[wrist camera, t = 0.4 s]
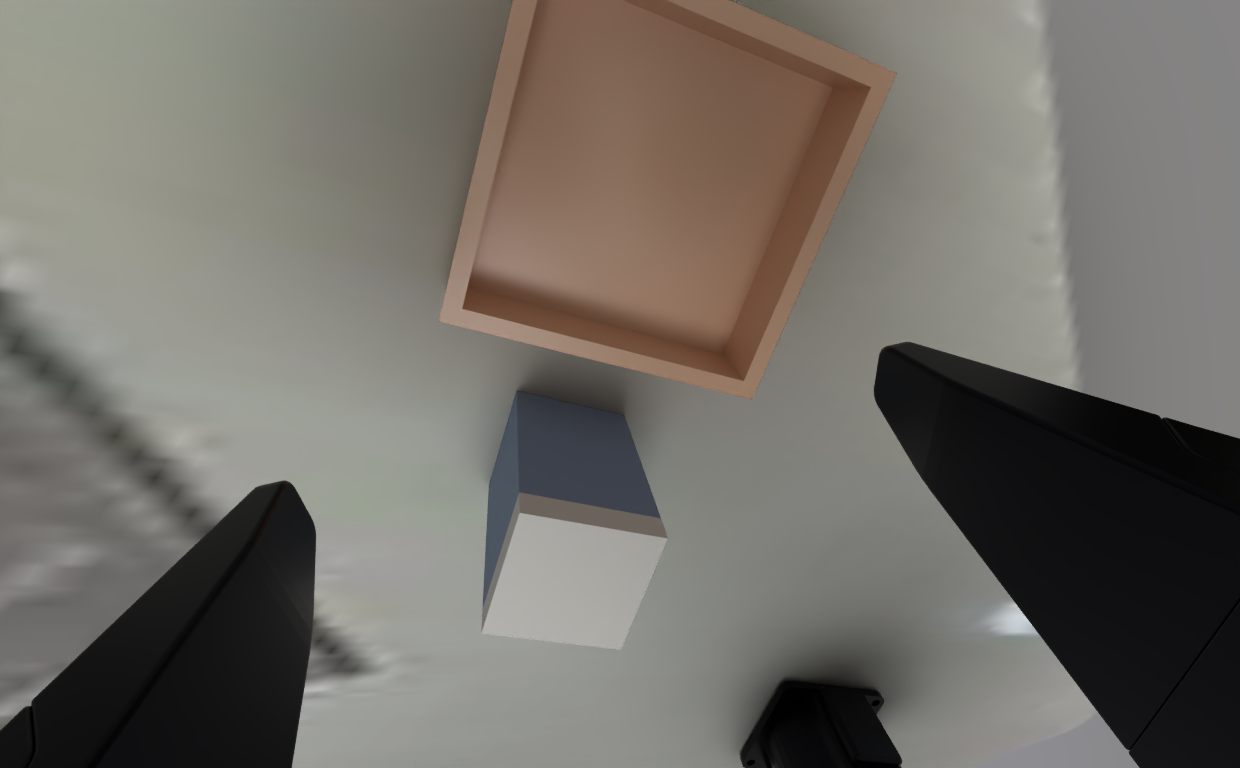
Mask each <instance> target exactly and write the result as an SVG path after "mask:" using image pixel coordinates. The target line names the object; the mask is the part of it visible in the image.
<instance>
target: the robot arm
mask: <svg viewBox="0 0 1240 768" xmlns="http://www.w3.org/2000/svg"><path fill="white" fill-rule="evenodd" d="M874 396H875V400H876V403H877V405H878V407H879V408H880V410H881V412H882V414H883V415H884V417H885V419H886V420H887V422H888V424H889V425H890V427H891V429H892V430H893V432H894V434H895V435H896V437H897V439H898V440H899V442H900V444H901V445H902V447H903V449H904V450H905V452H906V454H907V455H908V457H909V459H910V460H911V462H912V464H913V465H914V467H915V469H916V470H917V472H918V473H919V475H920V476H921V478H922V479H923V481H924V482H925V484H926V485H927V486H928V488H929V489H930V491H931V492H932V493H933V495H934V496H935V497H936V499H937V500H938V501H939V503H940V504H941V505H942V507H943V508H944V509H945V510H946V512H947V513H948V514H949V516H950V517H951V518H952V520H953V521H954V522H955V524H956V525H957V526H958V528H959V529H960V530H961V532H962V533H963V534H964V536H965V537H966V538H967V540H968V541H969V542H970V544H971V545H972V546H973V548H974V549H975V550H976V551H977V553H978V554H979V555H980V557H981V558H982V559H983V561H984V562H985V563H986V565H987V566H988V567H989V569H990V570H991V571H992V573H993V574H994V575H995V577H996V578H997V579H998V581H999V582H1000V583H1001V585H1002V586H1003V587H1004V588H1005V590H1006V591H1007V592H1008V594H1009V595H1010V596H1011V598H1012V599H1013V600H1014V602H1015V603H1016V604H1017V606H1018V607H1019V608H1020V610H1021V611H1022V612H1023V614H1024V615H1025V616H1026V618H1027V619H1028V620H1029V622H1030V623H1031V624H1032V625H1033V627H1034V628H1035V629H1036V631H1037V632H1038V633H1039V635H1040V636H1041V637H1042V639H1043V640H1044V641H1045V643H1046V644H1047V645H1048V647H1049V648H1050V649H1051V651H1052V652H1053V653H1054V655H1055V656H1056V657H1057V659H1058V660H1059V661H1060V663H1061V664H1062V665H1063V666H1064V668H1065V669H1066V670H1067V672H1068V673H1069V674H1070V676H1071V677H1072V678H1073V680H1074V681H1075V682H1076V684H1077V685H1078V686H1079V688H1080V689H1081V690H1082V692H1083V693H1084V694H1085V696H1086V697H1087V698H1088V700H1089V701H1090V702H1091V703H1092V705H1093V706H1094V707H1095V709H1096V710H1097V711H1098V713H1099V714H1100V715H1101V717H1102V718H1103V719H1104V721H1105V722H1106V723H1107V725H1108V726H1109V727H1110V729H1111V730H1112V731H1113V732H1114V734H1115V735H1116V737H1117V738H1118V739H1119V740H1120V742H1121V743H1122V744H1123V745H1124V747H1125V748H1126V749H1127V750H1130V751H1129V754H1130V756H1131V757H1132V758H1133V760H1134V761H1135V762H1136V764H1137V765H1138V766H1139V768H1240V439H1239V438H1235V437H1232V436H1228V435H1225V434H1221V433H1218V432H1214V431H1211V430H1207V429H1204V428H1200V427H1197V426H1193V425H1190V424H1186V423H1183V422H1180V421H1176V420H1173V419H1169V418H1162V419H1161V418H1160V416H1158V415H1156V414H1152V413H1149V412H1145V411H1142V410H1139V409H1135V408H1132V407H1128V406H1125V405H1122V404H1118V403H1115V402H1112V401H1108V400H1105V399H1101V398H1098V397H1095V396H1091V395H1088V394H1084V393H1081V392H1078V391H1074V390H1071V389H1067V388H1064V387H1061V386H1057V385H1054V384H1051V383H1047V382H1044V381H1040V380H1037V379H1034V378H1030V377H1027V376H1023V375H1020V374H1017V373H1013V372H1010V371H1007V370H1003V369H1000V368H996V367H993V366H990V365H986V364H983V363H979V362H976V361H973V360H969V359H966V358H962V357H959V356H956V355H952V354H949V353H946V352H942V351H939V350H935V349H932V348H929V347H925V346H922V345H918V344H915V343H912V342H903V343H899V344H894V345H890V346H886V347H884V348H883V349H882V350H881V352H880V354H879V359H878V366H877V372H876V379H875V385H874ZM315 554H316V530H315V526H314V523H313V520H312V518H311V516H310V514H309V512H308V511H307V509H306V507H305V505H304V503H303V502H302V500H301V498H300V496H299V494H298V492H297V491H296V489H295V487H294V486H293V485H292V484H291V483H290V482H288V481H279V482H275V483H270V484H265V485H261V486H258V487H256V488H255V489H254V490H252V491H251V492H250V493H249V494H248V495H247V496H246V497H245V498H244V499H243V500H242V501H241V502H240V503H239V504H238V505H237V506H236V507H235V508H233V509H232V510H231V511H230V512H229V513H228V514H227V515H226V516H225V517H224V518H223V519H222V520H221V521H220V522H219V523H218V524H217V525H216V526H215V527H214V528H213V529H211V530H210V531H209V532H208V533H207V534H206V535H205V536H204V537H203V538H202V539H201V540H200V541H199V542H198V543H197V544H196V545H195V546H194V547H193V548H192V549H190V550H189V551H188V552H187V553H186V554H185V555H184V556H183V557H182V558H181V559H180V560H179V561H178V562H177V563H176V564H175V565H174V566H173V567H172V568H171V569H169V570H168V571H167V572H166V573H165V574H164V575H163V576H162V577H161V578H160V579H159V580H158V581H157V582H156V583H155V584H154V585H153V586H152V587H151V588H150V589H148V590H147V591H146V592H145V593H144V594H143V595H142V596H141V597H140V598H139V599H138V600H137V601H136V602H135V603H134V604H133V605H132V606H131V607H130V608H129V609H127V610H126V611H125V612H124V613H123V614H122V615H121V616H120V617H119V618H118V619H117V620H116V621H115V622H114V623H113V624H112V625H111V626H110V627H109V628H108V629H106V630H105V631H104V632H103V633H102V634H101V635H100V636H99V637H98V638H97V639H96V640H95V641H94V642H93V643H92V644H91V645H90V646H89V647H88V648H87V649H85V650H84V651H83V652H82V653H81V654H80V655H79V656H78V657H77V658H76V659H75V660H74V661H73V662H72V663H71V664H70V665H69V666H68V667H67V668H66V669H64V670H63V671H62V672H61V673H60V674H59V675H58V676H57V677H56V678H55V679H54V680H53V681H52V682H51V683H50V684H49V685H48V686H47V687H46V688H45V689H43V690H42V691H41V692H40V693H39V694H38V695H37V696H36V697H35V698H34V699H33V700H32V703H31V706H27V707H25V708H23V709H22V710H21V711H20V712H19V713H18V714H17V715H16V716H15V717H14V718H13V719H12V720H11V721H10V722H9V723H8V724H7V725H6V726H5V727H3V728H2V729H1V730H0V768H292V762H293V756H294V750H295V743H296V737H297V731H298V724H299V718H300V712H301V705H302V699H303V693H304V687H305V680H306V674H307V668H308V661H309V655H310V648H311V640H312V632H313V615H314V584H315ZM883 703H884V699H883V697H882V696H881V694H880V693H879V692H878V691H874V690H866V689H857V688H848V687H840V686H831V685H822V684H813V683H805V682H796V681H787V682H784V683H783V684H782V685H781V686H780V687H779V689H778V691H777V692H776V694H775V696H774V698H773V699H772V701H771V703H770V705H769V707H768V708H767V710H766V712H765V714H764V715H763V717H762V719H761V721H760V722H759V724H758V726H757V728H756V730H755V731H754V733H753V735H752V737H751V738H750V740H749V742H748V744H747V745H746V747H745V749H744V751H743V753H742V754H741V757H740V759H741V762H742V765H743V767H745V768H901V766H900V765H901V764H902V759H901V757H900V755H899V753H898V751H897V750H896V748H895V746H894V745H893V743H892V741H891V739H890V738H889V736H888V734H887V733H886V731H885V729H884V728H883V726H882V724H881V722H880V721H879V719H878V717H877V716H876V714H877V712H878V711H879V709H880V708H881V706H882V705H883Z"/></svg>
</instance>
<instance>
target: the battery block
mask: <svg viewBox="0 0 1240 768" xmlns="http://www.w3.org/2000/svg"><path fill="white" fill-rule="evenodd" d="M667 540H668V537H667V534H666V531H665V529H664V526H663V523H662V520H661V517H660V514H659V512H658V509H657V506H656V503H655V500H654V498H653V495H652V492H651V489H650V486H649V484H648V481H647V478H646V475H645V472H644V470H643V467H642V464H641V461H640V458H639V456H638V453H637V450H636V447H635V444H634V442H633V439H632V436H631V433H630V430H629V428H628V425H627V422H626V419H625V416H624V415H621V414H617V413H612V412H608V411H603V410H599V409H595V408H590V407H586V406H581V405H577V404H573V403H568V402H564V401H559V400H555V399H551V398H546V397H542V396H537V395H533V394H529V393H524V392H520V391H516V394H515V398H514V401H513V405H512V408H511V412H510V415H509V418H508V422H507V425H506V429H505V432H504V436H503V439H502V443H501V446H500V449H499V453H498V456H497V460H496V463H495V467H494V470H493V473H492V477H491V480H490V484H489V494H488V514H487V533H486V553H485V572H484V592H483V611H482V631H481V633H483V634H491V635H500V636H508V637H516V638H525V639H533V640H541V641H550V642H558V643H567V644H575V645H583V646H592V647H600V648H608V649H617V650H621V648H622V645H623V643H624V641H625V638H626V636H627V634H628V631H629V629H630V627H631V624H632V622H633V620H634V617H635V615H636V613H637V610H638V608H639V606H640V603H641V601H642V599H643V596H644V594H645V592H646V589H647V587H648V585H649V582H650V580H651V578H652V575H653V573H654V571H655V568H656V566H657V564H658V561H659V559H660V557H661V554H662V552H663V550H664V547H665V545H666V543H667Z"/></svg>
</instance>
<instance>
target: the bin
mask: <svg viewBox="0 0 1240 768" xmlns="http://www.w3.org/2000/svg"><path fill="white" fill-rule="evenodd" d="M896 74H897V73H895V72H893V71H891V70H888V69H886V68H884V67H882V66H879V65H877V64H875V63H872V62H870V61H868V60H866V59H863V58H861V57H859V56H856V55H854V54H852V53H850V52H847V51H845V50H843V49H840V48H838V47H836V46H834V45H831V44H829V43H827V42H824V41H822V40H820V39H817V38H815V37H813V36H811V35H808V34H806V33H804V32H801V31H799V30H797V29H795V28H792V27H790V26H788V25H785V24H783V23H781V22H779V21H776V20H774V19H772V18H769V17H767V16H765V15H763V14H760V13H758V12H756V11H753V10H751V9H749V8H747V7H744V6H742V5H740V4H737V3H735V2H733V1H731V0H513V2H512V7H511V11H510V15H509V20H508V24H507V28H506V33H505V37H504V41H503V46H502V50H501V54H500V59H499V63H498V67H497V71H496V76H495V80H494V84H493V89H492V93H491V97H490V102H489V106H488V110H487V115H486V119H485V123H484V128H483V132H482V136H481V141H480V145H479V149H478V154H477V158H476V162H475V167H474V171H473V175H472V180H471V184H470V188H469V193H468V197H467V201H466V206H465V210H464V214H463V219H462V223H461V227H460V232H459V236H458V240H457V245H456V249H455V253H454V257H453V262H452V266H451V270H450V275H449V279H448V283H447V288H446V292H445V296H444V301H443V305H442V309H441V314H440V318H439V322H442V323H446V324H450V325H454V326H458V327H462V328H467V329H471V330H475V331H479V332H483V333H487V334H491V335H495V336H499V337H503V338H507V339H511V340H515V341H519V342H523V343H527V344H531V345H535V346H539V347H543V348H547V349H551V350H555V351H559V352H563V353H567V354H571V355H575V356H579V357H583V358H587V359H591V360H595V361H599V362H603V363H607V364H611V365H615V366H619V367H623V368H627V369H631V370H635V371H639V372H643V373H647V374H651V375H655V376H659V377H663V378H667V379H671V380H675V381H679V382H683V383H688V384H692V385H696V386H700V387H704V388H708V389H712V390H716V391H720V392H724V393H728V394H732V395H736V396H740V397H744V398H748V399H753V396H754V394H755V392H756V390H757V387H758V385H759V383H760V381H761V378H762V376H763V374H764V372H765V369H766V367H767V365H768V363H769V360H770V358H771V356H772V354H773V351H774V349H775V347H776V345H777V342H778V340H779V338H780V336H781V333H782V331H783V329H784V327H785V324H786V322H787V320H788V318H789V315H790V313H791V311H792V309H793V306H794V304H795V302H796V299H797V297H798V295H799V293H800V290H801V288H802V286H803V284H804V281H805V279H806V277H807V275H808V272H809V270H810V268H811V266H812V263H813V261H814V259H815V257H816V254H817V252H818V250H819V248H820V245H821V243H822V241H823V239H824V236H825V234H826V232H827V230H828V227H829V225H830V223H831V221H832V218H833V216H834V214H835V212H836V209H837V207H838V205H839V203H840V200H841V198H842V196H843V194H844V191H845V189H846V187H847V185H848V182H849V180H850V178H851V175H852V173H853V171H854V169H855V166H856V164H857V162H858V160H859V157H860V155H861V153H862V151H863V148H864V146H865V144H866V142H867V139H868V137H869V135H870V133H871V130H872V128H873V126H874V124H875V121H876V119H877V117H878V115H879V112H880V110H881V108H882V106H883V103H884V101H885V99H886V97H887V94H888V92H889V90H890V88H891V85H892V83H893V81H894V79H895V76H896Z"/></svg>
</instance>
